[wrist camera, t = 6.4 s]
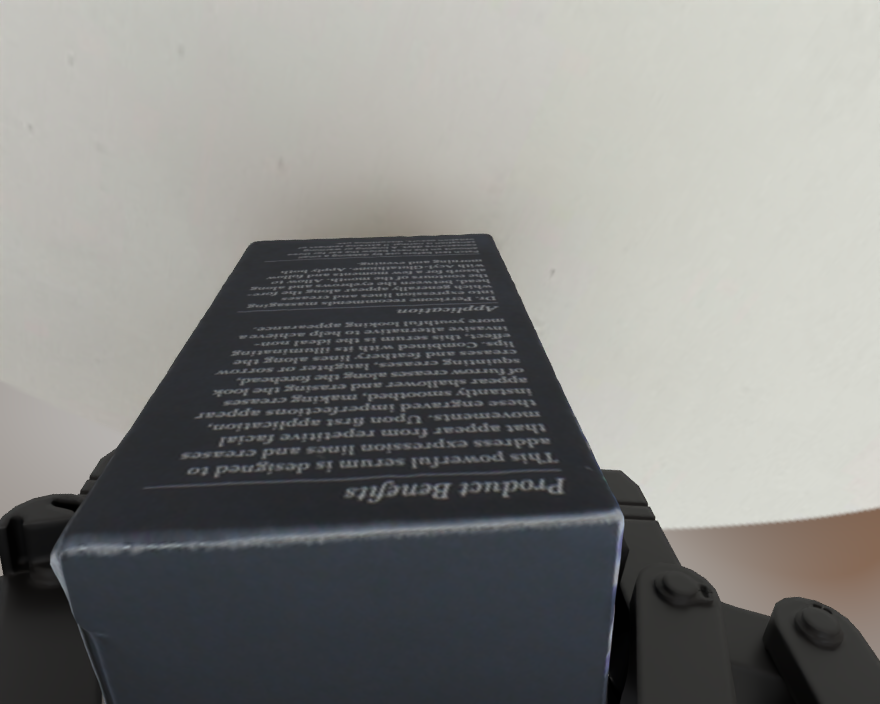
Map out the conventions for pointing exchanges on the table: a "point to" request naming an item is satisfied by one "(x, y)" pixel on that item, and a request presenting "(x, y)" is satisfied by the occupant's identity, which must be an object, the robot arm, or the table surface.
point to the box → (352, 497)
